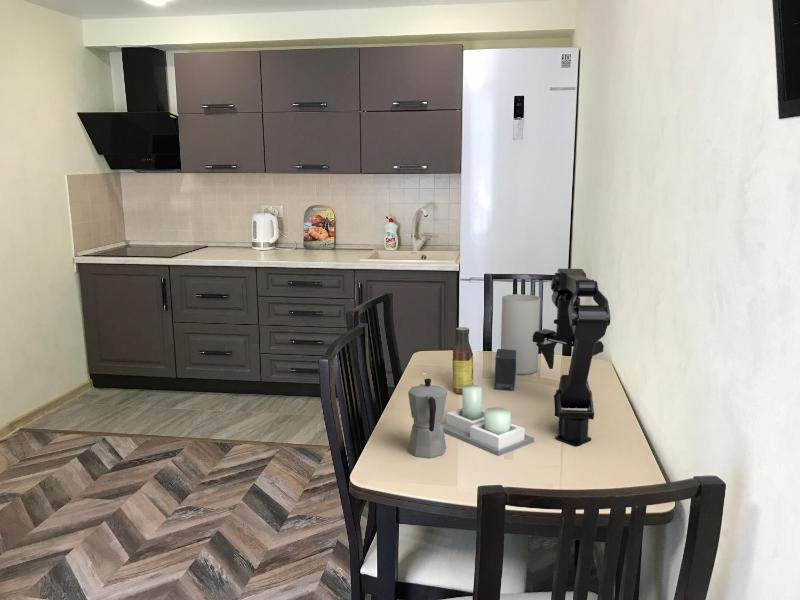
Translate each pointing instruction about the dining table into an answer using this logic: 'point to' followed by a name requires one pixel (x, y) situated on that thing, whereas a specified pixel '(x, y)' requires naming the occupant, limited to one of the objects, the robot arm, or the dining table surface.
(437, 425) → the coffeepot
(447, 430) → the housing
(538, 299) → the cylinder vase
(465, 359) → the sauce bottle
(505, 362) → the small box
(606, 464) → the dining table surface
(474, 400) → the pale green rounded block
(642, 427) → the dining table surface
